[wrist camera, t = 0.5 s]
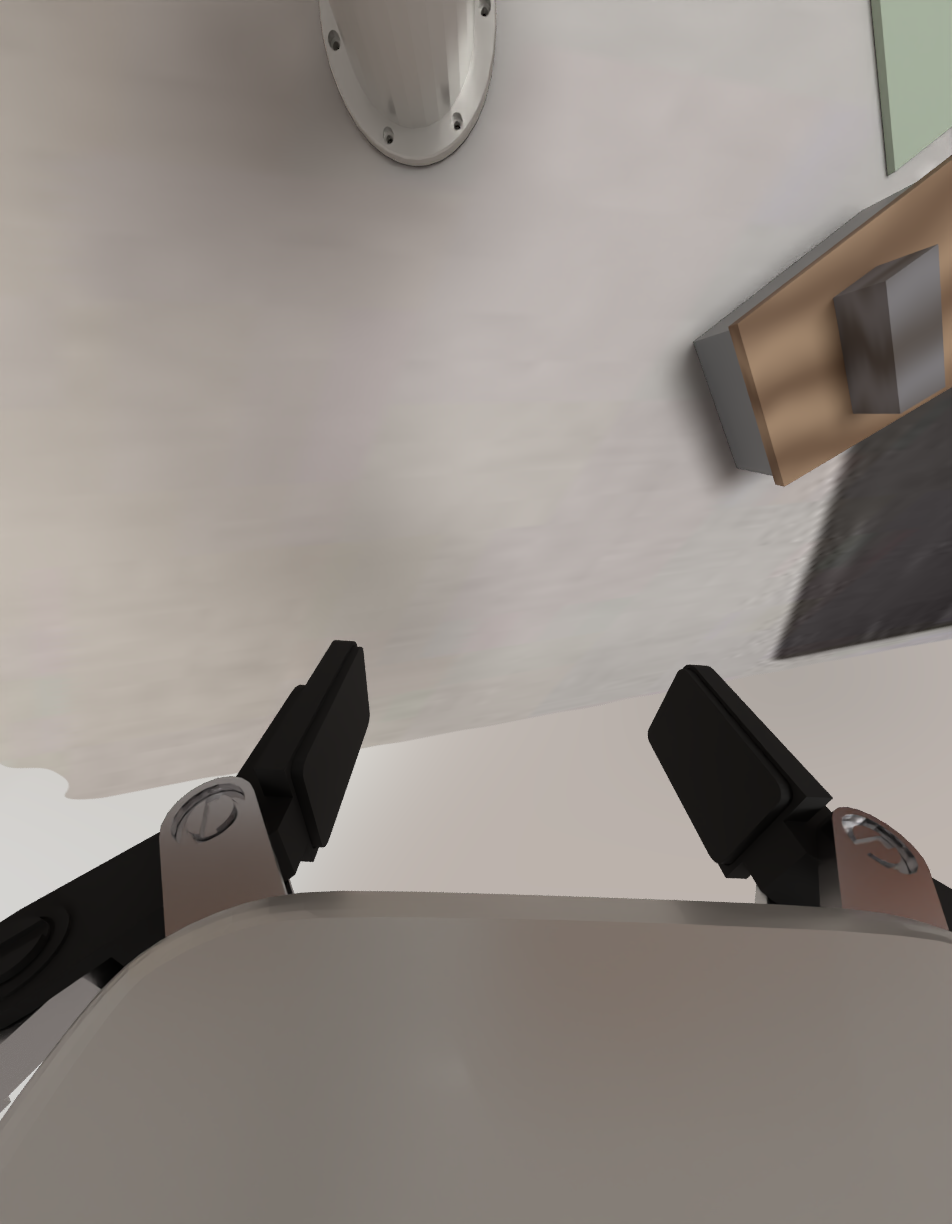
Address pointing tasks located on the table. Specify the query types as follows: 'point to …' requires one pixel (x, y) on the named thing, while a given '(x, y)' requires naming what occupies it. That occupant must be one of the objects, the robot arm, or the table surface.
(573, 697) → the table surface
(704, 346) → the storage box
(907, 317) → the lid
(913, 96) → the sage mat
